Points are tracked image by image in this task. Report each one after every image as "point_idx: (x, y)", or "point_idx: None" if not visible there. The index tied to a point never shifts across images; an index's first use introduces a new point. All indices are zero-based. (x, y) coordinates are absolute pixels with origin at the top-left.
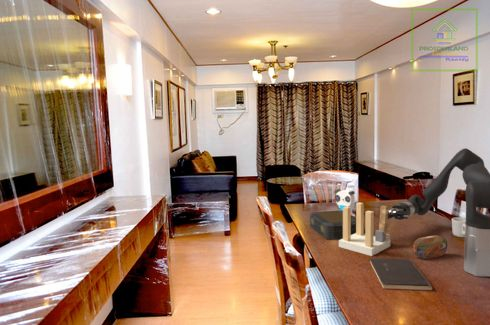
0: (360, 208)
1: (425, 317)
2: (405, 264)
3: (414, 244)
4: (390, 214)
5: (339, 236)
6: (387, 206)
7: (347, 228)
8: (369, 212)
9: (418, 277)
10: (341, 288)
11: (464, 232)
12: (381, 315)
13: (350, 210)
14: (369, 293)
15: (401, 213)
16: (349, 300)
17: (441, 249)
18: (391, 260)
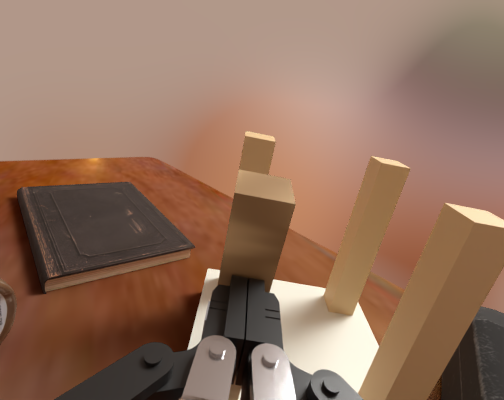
0: (432, 238)
1: (58, 161)
2: (75, 239)
3: (6, 283)
4: (217, 329)
5: (445, 390)
6: (236, 184)
7: (340, 246)
8: (252, 132)
9: (46, 201)
10: (193, 184)
11: None
12: (120, 161)
13: (375, 179)
14: (147, 181)
15: (63, 396)
16: (169, 171)
17: None
18: (123, 248)
